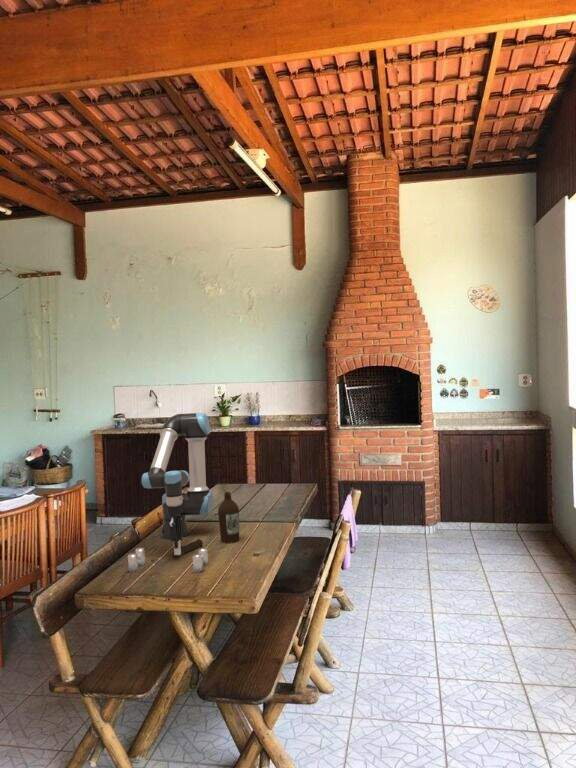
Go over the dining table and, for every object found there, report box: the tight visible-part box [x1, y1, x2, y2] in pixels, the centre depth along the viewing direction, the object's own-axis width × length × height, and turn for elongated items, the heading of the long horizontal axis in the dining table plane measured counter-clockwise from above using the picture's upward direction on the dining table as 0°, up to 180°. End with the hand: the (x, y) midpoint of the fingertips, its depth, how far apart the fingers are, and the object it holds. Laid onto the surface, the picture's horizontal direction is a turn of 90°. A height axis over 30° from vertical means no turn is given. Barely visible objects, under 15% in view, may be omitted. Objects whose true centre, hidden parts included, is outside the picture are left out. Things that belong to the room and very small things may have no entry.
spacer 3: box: [192, 553, 203, 573], centre depth 250 cm, size 4×4×7 cm
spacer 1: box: [127, 553, 139, 573], centre depth 255 cm, size 4×4×7 cm
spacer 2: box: [134, 547, 146, 567], centre depth 263 cm, size 4×4×7 cm
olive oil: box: [217, 490, 240, 544], centre depth 292 cm, size 11×11×25 cm
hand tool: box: [172, 538, 204, 559], centre depth 277 cm, size 19×4×5 cm, turn 145°
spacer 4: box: [197, 547, 209, 566], centre depth 258 cm, size 4×4×7 cm
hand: (177, 554), depth 268 cm, fingers closed
